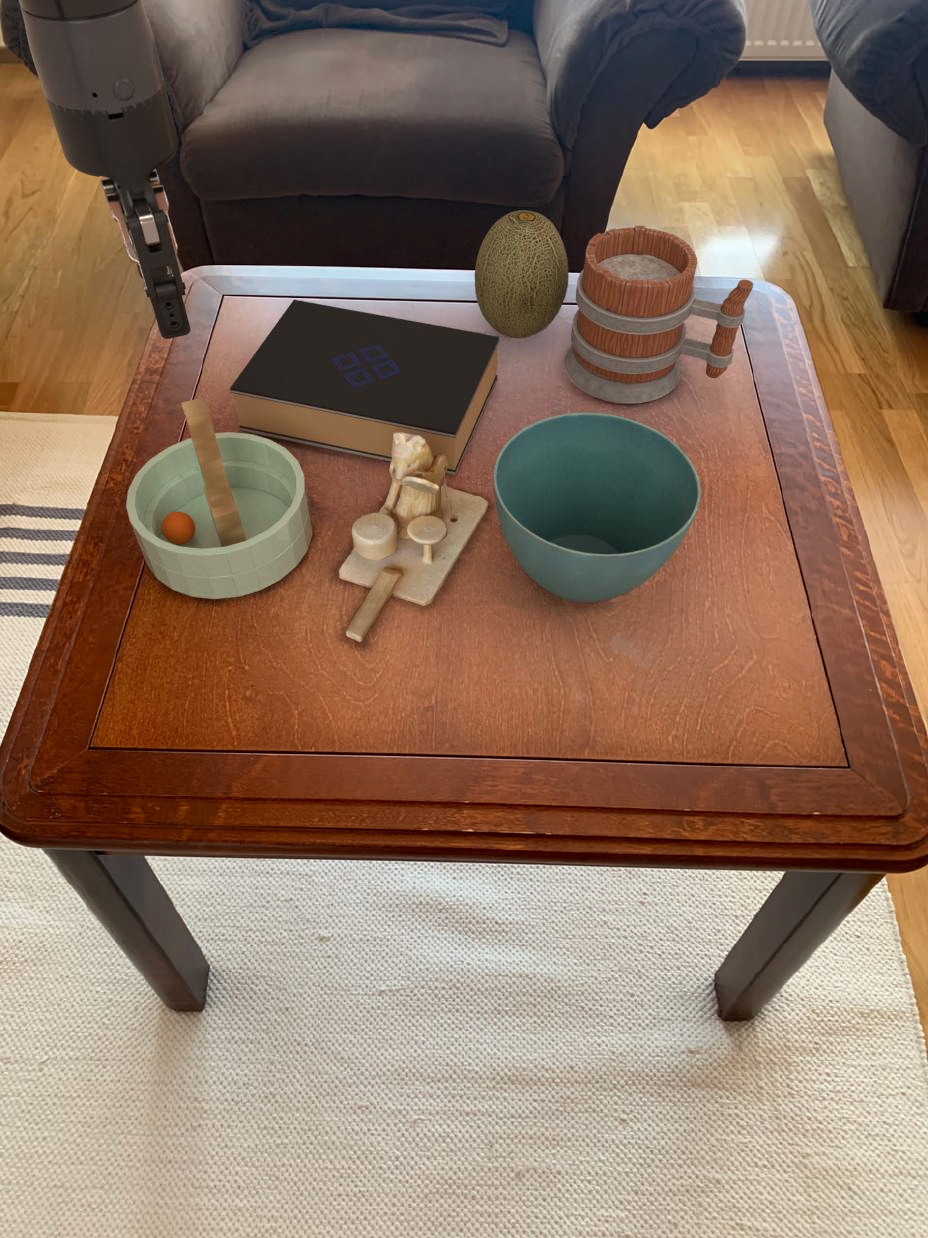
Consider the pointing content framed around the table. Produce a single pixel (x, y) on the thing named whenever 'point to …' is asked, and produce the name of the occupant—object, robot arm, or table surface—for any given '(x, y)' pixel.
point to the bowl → (202, 566)
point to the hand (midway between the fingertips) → (165, 304)
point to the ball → (178, 527)
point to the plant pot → (593, 503)
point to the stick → (213, 473)
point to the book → (366, 382)
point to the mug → (643, 317)
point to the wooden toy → (410, 533)
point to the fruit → (521, 274)
